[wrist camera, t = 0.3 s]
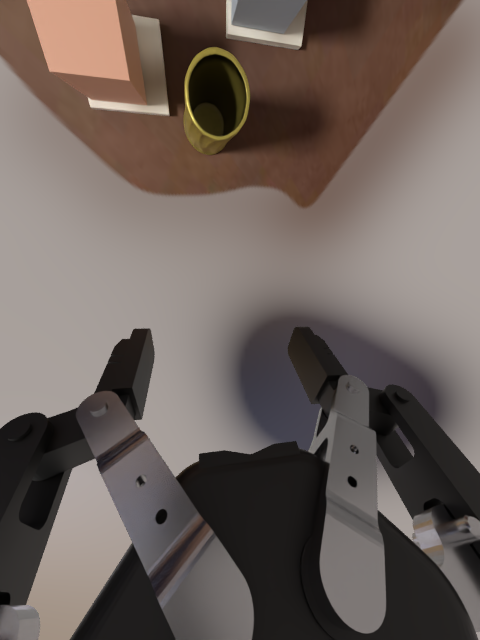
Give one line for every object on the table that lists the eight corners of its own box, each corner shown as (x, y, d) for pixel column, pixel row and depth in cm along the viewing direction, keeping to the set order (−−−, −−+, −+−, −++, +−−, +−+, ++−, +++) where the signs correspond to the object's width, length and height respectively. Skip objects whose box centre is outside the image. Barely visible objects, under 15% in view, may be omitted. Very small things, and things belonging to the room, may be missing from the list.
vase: (239, 127, 29) (270, 100, 17) (209, 166, 31) (220, 165, 19) (204, 77, 26) (215, 6, 14) (173, 124, 27) (161, 94, 16)
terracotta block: (69, 13, 21) (4, -69, 14) (135, 23, 22) (107, -48, 15) (91, 99, 24) (49, 71, 17) (147, 105, 25) (129, 80, 18)
